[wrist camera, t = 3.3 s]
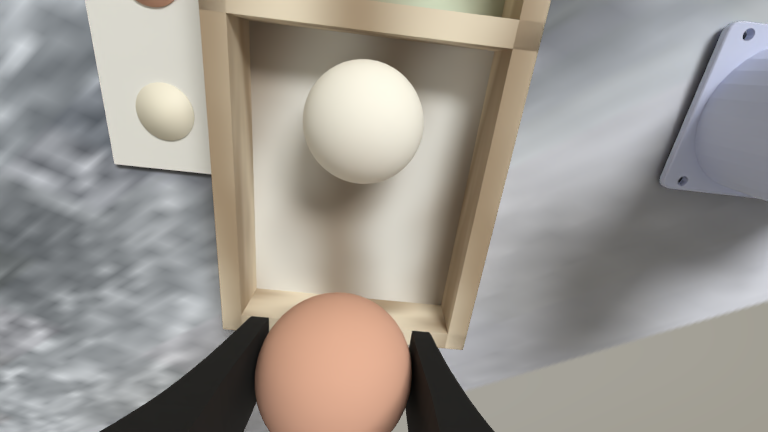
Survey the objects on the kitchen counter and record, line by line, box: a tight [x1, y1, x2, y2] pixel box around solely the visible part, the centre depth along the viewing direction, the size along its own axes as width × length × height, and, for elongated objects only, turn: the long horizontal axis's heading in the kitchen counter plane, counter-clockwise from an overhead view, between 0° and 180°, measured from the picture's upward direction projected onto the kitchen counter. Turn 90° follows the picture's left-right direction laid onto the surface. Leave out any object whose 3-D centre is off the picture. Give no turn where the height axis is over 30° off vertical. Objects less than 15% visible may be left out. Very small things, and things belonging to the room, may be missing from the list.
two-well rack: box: [198, 0, 551, 350], centre depth 15 cm, size 13×31×4 cm, turn 174°
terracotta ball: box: [255, 292, 412, 432], centre depth 12 cm, size 5×5×5 cm
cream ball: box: [303, 59, 424, 184], centre depth 15 cm, size 5×5×5 cm
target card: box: [85, 0, 211, 174], centre depth 16 cm, size 6×14×1 cm, turn 174°
